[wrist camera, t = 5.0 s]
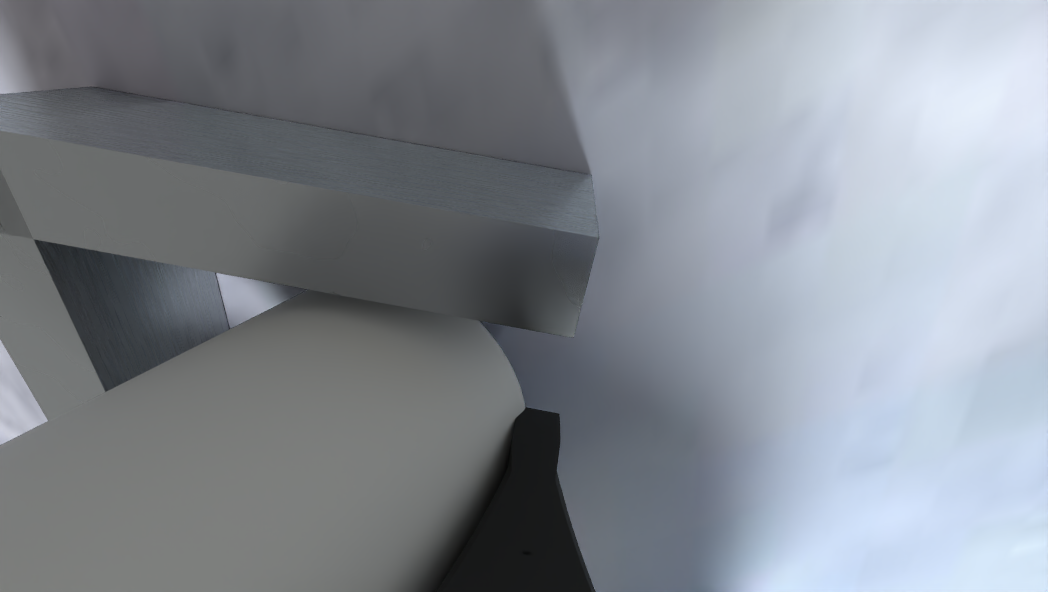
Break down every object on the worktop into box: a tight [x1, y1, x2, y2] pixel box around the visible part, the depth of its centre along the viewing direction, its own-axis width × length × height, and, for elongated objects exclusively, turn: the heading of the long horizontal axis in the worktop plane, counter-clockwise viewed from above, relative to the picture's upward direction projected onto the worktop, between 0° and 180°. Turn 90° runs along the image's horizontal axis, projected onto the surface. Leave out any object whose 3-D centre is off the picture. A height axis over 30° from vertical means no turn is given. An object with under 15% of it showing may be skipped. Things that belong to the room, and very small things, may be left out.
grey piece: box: [0, 87, 599, 421], centre depth 11 cm, size 11×11×4 cm
